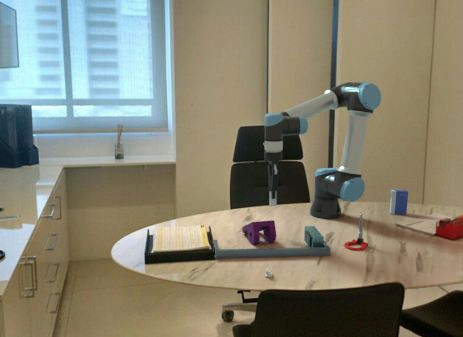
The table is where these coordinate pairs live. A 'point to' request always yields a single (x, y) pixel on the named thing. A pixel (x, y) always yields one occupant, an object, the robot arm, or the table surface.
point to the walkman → (398, 201)
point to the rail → (310, 237)
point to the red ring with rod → (359, 240)
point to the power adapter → (268, 273)
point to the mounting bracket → (264, 226)
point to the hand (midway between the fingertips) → (272, 205)
